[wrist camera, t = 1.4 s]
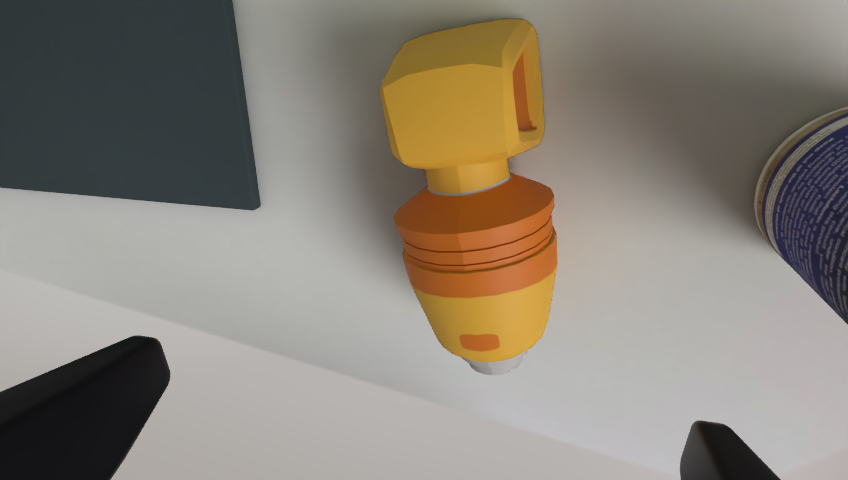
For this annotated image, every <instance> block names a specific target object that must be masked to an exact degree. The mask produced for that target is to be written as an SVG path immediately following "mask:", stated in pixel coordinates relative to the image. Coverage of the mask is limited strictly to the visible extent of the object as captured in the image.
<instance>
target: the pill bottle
mask: <svg viewBox="0 0 848 480" xmlns="http://www.w3.org/2000/svg"><path fill="white" fill-rule="evenodd" d="M754 207H755V215H756V220H757V223H758V226H759V228H760V231H761V232H762V234H763V236H764V237H765V239H766V240H767V242H768V243H769V244H770V245H771V247H772V248H773V249H774V250H775V251H776V252H777V253H778V254H779V255H780V256H781V257H782V258H783V259H784V260H785V261H786V262H787V263H788V264H789V265H790V266H791V267H792V268H793V269H794V270H795V271H796V272H797V273H798V274H799V275H800V276H801V277H802V279H803V280H804V281H805V282H806V283H807V284H808V285H809V286H810V287H811V288H812V289H813V290H814V291H815V292H816V293H817V294H818V295H819V296H820V297H821V298H822V299H823V300H824V301H825V302H826V303H827V304H828V305H829V306H830V307H831V308H832V309H833V310H834V311H835V312H836V313H837V314H838V315H839V316H840V317H841V318H842V319H843V320H844V321H845V322H846V323H847V324H848V107H844V108H841V109H838V110H835V111H832V112H829V113H827V114H825V115H822V116H820V117H818V118H816V119H814V120H812V121H811V122H809V123H807V124H806V125H804V126H803V127H801V128H800V129H798V130H797V131H796V132H794V133H793V134H792V135H790V136H789V137H788V138H787V139H786V140H785V141H784V142H783V143H782V144H781V145H780V146H779V147H778V148H777V149H776V151H775V152H774V153H773V154H772V156H771V157H770V158H769V160H768V161H767V163H766V165H765V167H764V168H763V170H762V172H761V174H760V177H759V180H758V183H757V187H756V191H755V200H754Z"/></svg>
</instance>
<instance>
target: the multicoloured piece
mask: <svg viewBox="0 0 848 480" xmlns="http://www.w3.org/2000/svg"><path fill="white" fill-rule="evenodd" d="M380 95H381V100H382V105H383V111H384V116H385V122H386V127H387V132H388V137H389V142H390V147H391V150H392V153H393V155H394V157H395V158H396V159H398V160H399V161H401V162H402V163H403V164H405V165H407V166H409V167H411V168H417V169H425V170H426V177H427V184H428V186H427V187H426V188H425V189H423V190H422V191H421V192H419V193H418V194H417V195H416V196H414V197H413V198H412V199H410V200H409V201H408V202H407V203H405V204H404V205H403V206H402V207H400V208H399V209H398V210H397V212H396V214H395V217H394V220H395V224H396V227H397V230H398V232H399V233H400V235H401V237H402V240H403V244H404V250H403V253H402V254H403V258H404V262H405V265H406V269H407V273H408V277H409V280H410V283H411V285H412V288H413V290H414V292H415V294H416V296H417V298H418V300H419V302H420V304H421V306H422V308H423V310H424V312H425V314H426V316H427V319H428V321H429V323H430V325H431V327H432V329H433V331H434V333H435V335H436V337H437V339H438V341H439V342H440V343H441V345H442V346H443V347H444V348H445V349H447V350H448V351H449V352H451V353H452V354H454V355H457V356H459V357H462V358H463V359H464V360H465V361H467V362H468V363H469V364H470V366H471V368H473V369H474V370H475V371H477V372H480V373H482V374H489V375H496V374H503V373H506V372H510V371H511V370H513V369H515V368H516V367H517V366H518V365H519V364H520V363H521V361H522V358H523V356H524V354H525V353H526V352H527V350H528V349H530V348H531V347H532V346H534V345H535V344H536V342H537V341H538V340H539V339H540V338H541V337H542V335H543V333H544V331H545V328H546V325H547V322H548V319H549V313H550V306H551V300H552V294H553V288H554V282H555V276H556V270H557V239H556V232H555V229H554V227H553V225H552V216H551V213H552V211H553V208H554V195H553V193H552V191H551V189H550V188H549V187H547V186H545V185H543V184H541V183H539V182H536V181H533V180H530V179H527V178H524V177H521V176H518V175H516V174H513V173H510V172H509V166H508V160H507V158H510V157H512V156H515V155H517V154H519V153H522V152H524V151H527V150H529V149H531V148H533V147H535V146H537V145H538V144H540V143H541V140H542V138H543V135H544V126H545V125H544V110H543V96H542V83H541V71H540V59H539V49H538V41H537V34H536V31H535V29H534V26H533V25H532V24H530V23H529V22H527V21H526V20H524V19H501V20H495V21H489V22H483V23H477V24H472V25H466V26H461V27H456V28H452V29H447V30H443V31H438V32H434V33H429V34H425V35H422V36H419V37H417V38H415V39H412V40H410V41H407V42H405V44H404V45H403V46H402V48H401V49H400V51H399V52H398V53H397V55H396V57H395V58H394V60H393V62H392V64H391V66H390V68H389V70H388V72H387V73H386V75H385V77H384V79H383V81H382V84H381V88H380Z"/></svg>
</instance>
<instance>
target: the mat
mask: <svg viewBox="0 0 848 480" xmlns="http://www.w3.org/2000/svg"><path fill="white" fill-rule="evenodd" d="M0 187H1V188H12V189H23V190H34V191H45V192H56V193H67V194H78V195H89V196H100V197H111V198H122V199H133V200H144V201H155V202H166V203H177V204H189V205H200V206H211V207H222V208H233V209H244V210H255V209H257V208H259V207H260V198H259V191H258V184H257V176H256V169H255V162H254V155H253V147H252V140H251V133H250V126H249V119H248V111H247V104H246V97H245V90H244V83H243V75H242V68H241V61H240V54H239V46H238V39H237V32H236V25H235V18H234V10H233V3H232V0H0Z"/></svg>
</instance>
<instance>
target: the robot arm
mask: <svg viewBox="0 0 848 480" xmlns="http://www.w3.org/2000/svg"><path fill="white" fill-rule="evenodd" d="M169 380H170V370H169V367H168V364H167V361H166V358H165V355H164V352H163V349H162V346H161V344H160V342H159V341H158V340H157V339H155V338H152V337H145V336H132V337H129V338H127V339H124V340H122V341H120V342H117V343H115V344H113V345H110V346H108V347H106V348H103V349H101V350H98V351H96V352H94V353H91V354H89V355H87V356H84V357H82V358H80V359H77V360H75V361H72V362H70V363H68V364H65V365H63V366H61V367H58V368H56V369H54V370H51V371H49V372H47V373H44V374H42V375H40V376H37V377H35V378H32V379H30V380H28V381H25V382H23V383H21V384H18V385H16V386H14V387H11V388H9V389H6V390H4V391H2V392H0V480H110V479H111V478H112V477H113V475H114V474H115V472H116V471H117V469H118V468H119V466H120V465H121V463H122V462H123V460H124V459H125V457H126V455H127V454H128V452H129V451H130V449H131V447H132V446H133V444H134V442H135V440H136V439H137V437H138V435H139V434H140V432H141V430H142V428H143V427H144V425H145V423H146V422H147V420H148V418H149V416H150V415H151V413H152V411H153V410H154V408H155V406H156V405H157V403H158V401H159V399H160V398H161V396H162V394H163V393H164V391H165V389H166V387H167V386H168V383H169ZM680 475H681V480H780V479H779V478H778V476H777V475H776V474H775V473H774V472H773V471H772V470H771V469H770V468H769V467H768V466H767V465H766V464H765V463H764V462H763V461H762V460H761V459H760V458H759V457H758V456H757V455H756V454H755V453H754V452H753V451H752V450H751V449H750V448H749V447H748V446H747V445H746V444H745V443H744V442H743V441H742V439H741V438H740V437H739V436H738V435H737V434H736V433H735V432H734V431H733V430H732V429H731V428H729V427H728V426H726V425H724V424H720V423H714V422H707V421H696V422H694V423H693V425H692V427H691V429H690V432H689V435H688V438H687V442H686V445H685V448H684V451H683V454H682V457H681V462H680Z"/></svg>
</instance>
